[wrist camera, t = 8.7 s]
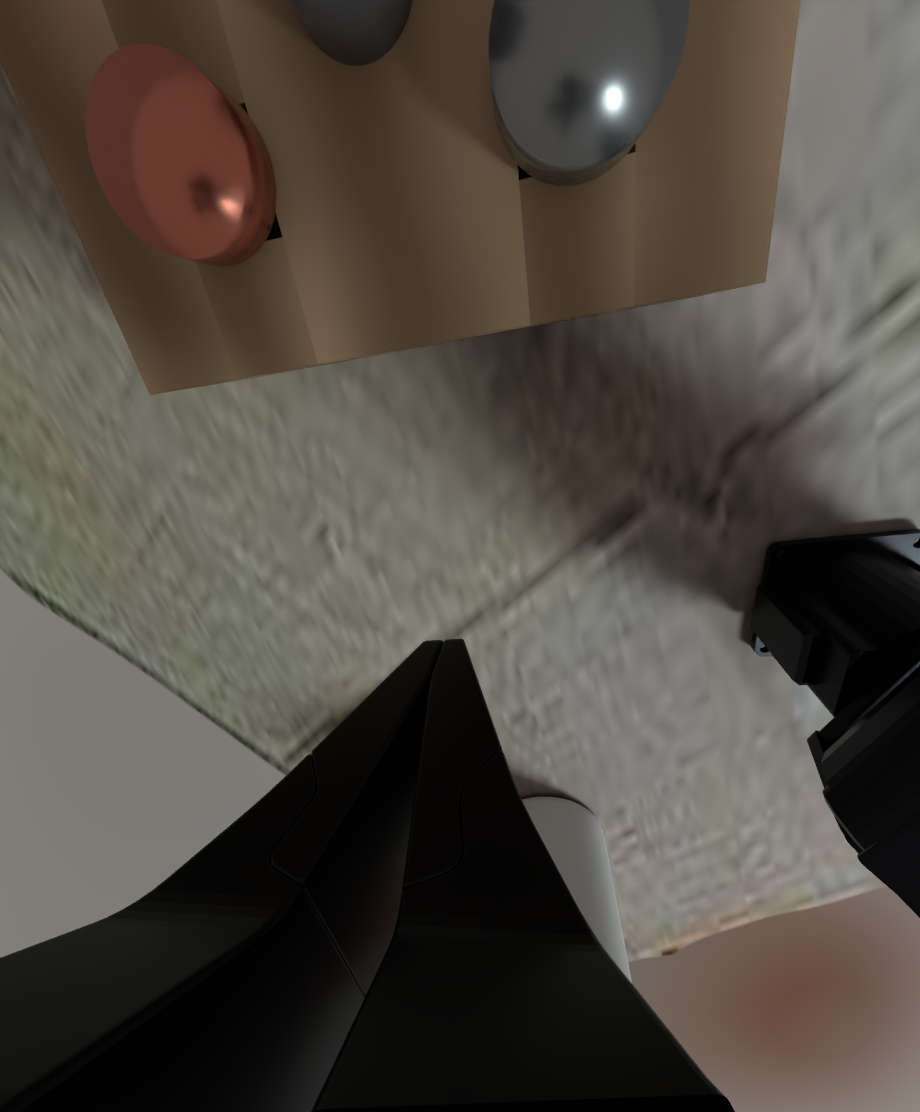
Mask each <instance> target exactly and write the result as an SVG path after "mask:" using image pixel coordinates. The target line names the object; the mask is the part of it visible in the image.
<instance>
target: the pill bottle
mask: <svg viewBox="0 0 920 1112" xmlns="http://www.w3.org/2000/svg"><path fill="white" fill-rule="evenodd" d="M522 801H523V803H524V805H525V807H526V809H527V811H528V813H529V815H530V817H531V819H532V821H533V823H534V825H535V827H536V829H537V831H538V833H539V835H540V837H541V838H542V840H543V842H544V844H545V846H546V848H547V850H548V852H549V853H550V855H551V857H552V859H553V861H554V863H555V865H556V867H557V868H558V870H559V872H560V874H561V876H562V878H563V880H564V882H565V883H566V885H567V887H568V889H569V891H570V893H571V895H572V897H573V898H574V900H575V902H576V904H577V906H578V907H579V909H580V911H581V913H582V914H583V916H584V918H585V919H586V921H587V923H588V924H589V926H590V928H591V929H592V931H593V932H594V934H595V936H596V937H597V939H598V940H599V942H600V943H601V945H602V946H603V948H604V949H605V950H606V952H607V953H608V954H609V956H610V957H611V958H612V959H613V961H614V962H615V963H616V964H617V966H618V967H619V968H620V969H621V971H622V972H623V973H624V974H625V976H626V977H627V978H628V979H629V981H630V982H631V983H632V980H631V975H630V970H629V965H628V959H627V954H626V949H625V943H624V938H623V933H622V927H621V922H620V917H619V912H618V906H617V901H616V896H615V890H614V885H613V880H612V875H611V869H610V864H609V859H608V853H607V848H606V843H605V838H604V835H603V831H602V828H601V825H600V823H599V821H598V820H597V818H596V817H595V816H594V815H593V814H592V813H591V812H590V811H589V810H588V809H586V808H585V807H583V806H582V805H580V804H578V803H575V802H573V801H570V800H566V799H562V798H556V797H532V798H527V799H523V800H522Z"/></svg>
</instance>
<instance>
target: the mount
mask: <svg viewBox="0 0 920 1112" xmlns="http://www.w3.org/2000/svg"><path fill="white" fill-rule="evenodd" d="M494 1H495V0H412V6H411V10H410V13H409V17H408V20H407V22H406V25H405V28H404V30H403V32H402V34H401V36H400V37H399V39H398V40H397V42H396V43H395V45H394V46H393V47H392V48H391V50H390V51H389V52H388V53H387V54H385V55H384V56H383V57H382V58H380V59H379V60H377V61H375V62H373V63H370V64H367V65H363V66H351V65H346V64H343V63H340V62H338V61H336V60H334V59H333V58H331V57H330V56H328V55H327V54H326V53H325V52H324V51H323V50H322V49H321V48H320V47H319V46H318V45H317V44H316V43H315V41H314V40H313V39H312V37H311V36H310V34H309V33H308V31H307V30H306V28H305V27H304V26H303V24H302V23H301V21H300V20H299V18H298V17H297V15H296V14H295V12H294V11H293V9H292V8H291V6H290V5H289V3H288V2H287V1H286V0H0V61H1V64H2V66H3V68H4V70H5V72H6V75H7V77H8V79H9V81H10V84H11V86H12V88H13V90H14V93H15V95H16V97H17V99H18V101H19V104H20V106H21V108H22V110H23V113H24V115H25V117H26V119H27V122H28V124H29V126H30V128H31V130H32V133H33V135H34V137H35V139H36V142H37V144H38V146H39V148H40V151H41V153H42V155H43V157H44V159H45V162H46V164H47V166H48V168H49V171H50V173H51V175H52V177H53V180H54V182H55V184H56V186H57V189H58V191H59V193H60V195H61V197H62V200H63V202H64V204H65V206H66V209H67V211H68V213H69V215H70V218H71V220H72V222H73V224H74V226H75V229H76V231H77V233H78V235H79V238H80V240H81V242H82V244H83V247H84V249H85V251H86V253H87V255H88V258H89V260H90V262H91V264H92V267H93V269H94V271H95V273H96V276H97V278H98V280H99V282H100V284H101V287H102V289H103V291H104V293H105V296H106V298H107V300H108V302H109V305H110V307H111V309H112V311H113V313H114V316H115V318H116V320H117V322H118V325H119V327H120V329H121V331H122V334H123V336H124V338H125V340H126V342H127V345H128V347H129V349H130V351H131V354H132V356H133V358H134V360H135V363H136V365H137V367H138V369H139V372H140V374H141V376H142V378H143V380H144V383H145V385H146V387H147V389H148V392H149V394H150V395H153V394H159V393H165V392H171V391H177V390H183V389H189V388H195V387H201V386H207V385H213V384H219V383H225V382H231V381H237V380H242V379H248V378H253V377H259V376H264V375H270V374H275V373H281V372H286V371H292V370H297V369H302V368H308V367H313V366H319V365H324V364H330V363H335V362H341V361H346V360H352V359H357V358H363V357H368V356H374V355H379V354H385V353H390V352H396V351H401V350H407V349H412V348H417V347H423V346H428V345H434V344H439V343H445V342H450V341H456V340H461V339H467V338H472V337H478V336H483V335H489V334H494V333H500V332H505V331H511V330H516V329H522V328H527V327H532V326H538V325H543V324H549V323H554V322H560V321H565V320H571V319H576V318H582V317H587V316H593V315H598V314H604V313H609V312H615V311H620V310H626V309H631V308H637V307H642V306H647V305H653V304H658V303H664V302H669V301H675V300H680V299H686V298H691V297H697V296H702V295H706V294H711V293H716V292H721V291H726V290H730V289H735V288H740V287H745V286H749V285H754V284H759V283H764V282H765V281H766V273H767V265H768V257H769V249H770V241H771V233H772V225H773V217H774V209H775V201H776V193H777V184H778V176H779V168H780V160H781V152H782V144H783V136H784V128H785V120H786V112H787V104H788V96H789V88H790V80H791V72H792V64H793V56H794V48H795V40H796V32H797V24H798V16H799V8H800V0H689V19H688V28H687V34H686V39H685V44H684V48H683V52H682V55H681V59H680V62H679V65H678V68H677V71H676V73H675V76H674V78H673V81H672V83H671V85H670V87H669V89H668V91H667V93H666V95H665V97H664V99H663V101H662V102H661V104H660V105H659V107H658V109H657V110H656V112H655V113H654V115H653V117H652V118H651V120H650V121H649V123H648V125H647V126H646V128H645V129H644V131H643V132H642V134H641V136H640V137H639V139H638V140H637V142H636V143H635V144H634V146H633V147H632V148H631V150H630V151H629V152H628V153H627V154H626V155H625V156H624V157H623V159H622V160H621V161H620V162H619V163H617V164H616V165H615V166H614V167H613V168H611V169H610V170H609V171H607V172H606V173H604V174H603V175H601V176H600V177H598V178H595V179H593V180H591V181H589V182H586V183H583V184H579V185H573V186H556V185H550V184H547V183H544V182H541V181H539V180H537V179H535V178H533V177H530V178H526V179H522V180H519V175H518V164H517V163H516V162H515V161H514V160H513V158H512V157H511V155H510V154H509V152H508V151H507V149H506V147H505V145H504V143H503V141H502V138H501V136H500V133H499V130H498V127H497V123H496V119H495V115H494V108H493V101H492V90H491V79H490V69H489V30H490V23H491V15H492V10H493V6H494ZM132 44H152V45H158V46H161V47H164V48H166V49H169V50H171V51H173V52H175V53H176V54H178V55H180V56H182V57H183V58H184V59H186V60H187V61H188V62H190V63H191V64H192V65H194V66H195V67H196V68H197V69H198V70H200V71H201V72H202V73H203V74H204V75H205V76H207V77H208V78H209V79H210V80H211V81H213V82H214V83H215V84H216V85H217V86H219V87H220V88H221V89H222V90H223V91H225V92H226V93H227V94H228V95H229V96H230V97H232V98H233V99H234V100H235V101H236V102H237V103H238V104H239V105H240V106H241V107H242V108H243V109H244V110H245V112H246V113H247V114H248V115H249V116H250V118H251V119H252V121H253V122H254V124H255V125H256V127H257V128H258V130H259V132H260V134H261V136H262V138H263V140H264V142H265V144H266V147H267V149H268V152H269V155H270V158H271V161H272V165H273V169H274V174H275V181H276V196H277V200H276V211H275V212H276V216H277V219H278V223H279V226H280V230H281V233H282V237H281V238H277V239H273V240H269V241H265V243H264V244H263V246H262V247H261V248H260V249H259V250H258V252H257V253H256V254H254V255H253V256H252V257H251V258H249V259H248V260H246V261H244V262H242V263H239V264H236V265H231V266H216V265H210V264H206V263H201V262H197V261H193V260H188V259H184V258H180V257H176V256H172V255H169V254H166V253H163V252H161V251H159V250H157V249H155V248H153V247H151V246H150V245H148V244H147V243H145V242H144V241H143V240H141V239H140V238H139V237H138V236H137V235H135V234H134V233H133V232H132V231H131V230H130V229H129V228H128V227H127V226H126V225H125V223H124V222H123V221H122V220H121V219H120V217H119V216H118V215H117V213H116V212H115V211H114V209H113V208H112V206H111V205H110V203H109V201H108V200H107V198H106V196H105V194H104V192H103V190H102V188H101V186H100V184H99V182H98V180H97V177H96V174H95V171H94V169H93V166H92V162H91V158H90V155H89V150H88V145H87V139H86V128H85V111H86V103H87V97H88V93H89V89H90V85H91V83H92V80H93V78H94V75H95V74H96V72H97V70H98V69H99V67H100V65H101V64H102V63H103V62H104V61H105V60H106V58H107V57H108V56H110V55H111V54H112V53H114V52H115V51H116V50H118V49H120V48H123V47H125V46H128V45H132Z"/></svg>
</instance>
